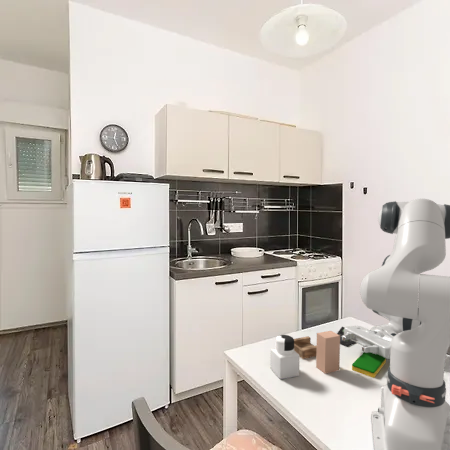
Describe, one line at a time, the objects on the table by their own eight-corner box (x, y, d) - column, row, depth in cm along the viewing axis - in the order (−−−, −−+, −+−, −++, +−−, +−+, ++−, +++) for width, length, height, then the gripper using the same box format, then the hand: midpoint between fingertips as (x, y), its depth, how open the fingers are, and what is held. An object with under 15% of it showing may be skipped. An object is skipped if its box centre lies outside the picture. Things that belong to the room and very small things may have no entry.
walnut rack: (306, 342, 124) (307, 335, 124) (325, 354, 114) (325, 347, 114) (285, 346, 121) (286, 339, 120) (302, 359, 110) (302, 351, 110)
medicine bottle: (288, 365, 106) (289, 331, 105) (299, 376, 99) (300, 340, 98) (270, 368, 104) (270, 334, 103) (280, 379, 97) (280, 343, 96)
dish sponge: (386, 363, 108) (386, 356, 108) (373, 379, 98) (374, 372, 98) (365, 356, 113) (365, 350, 113) (351, 371, 103) (351, 364, 103)
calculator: (326, 339, 128) (326, 332, 127) (342, 332, 135) (342, 326, 134) (347, 347, 120) (347, 340, 120) (362, 340, 127) (363, 333, 127)
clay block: (330, 364, 107) (330, 330, 106) (339, 370, 103) (340, 335, 102) (316, 367, 105) (316, 333, 104) (324, 373, 101) (325, 338, 100)
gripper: (360, 319, 122) (332, 324, 117) (407, 340, 103) (376, 347, 98) (360, 335, 122) (332, 340, 117) (407, 358, 103) (376, 366, 98)
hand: (353, 343), depth 107 cm, fingers open, 8 cm apart
